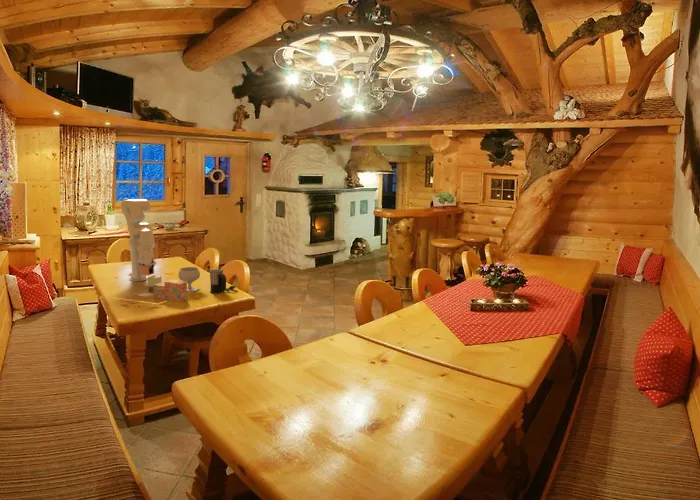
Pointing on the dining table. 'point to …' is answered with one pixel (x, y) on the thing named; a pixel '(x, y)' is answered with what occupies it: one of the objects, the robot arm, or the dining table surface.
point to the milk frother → (218, 281)
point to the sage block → (154, 280)
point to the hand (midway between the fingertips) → (147, 272)
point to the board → (144, 293)
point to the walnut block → (150, 289)
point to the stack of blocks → (171, 290)
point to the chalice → (189, 277)
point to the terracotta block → (145, 270)
